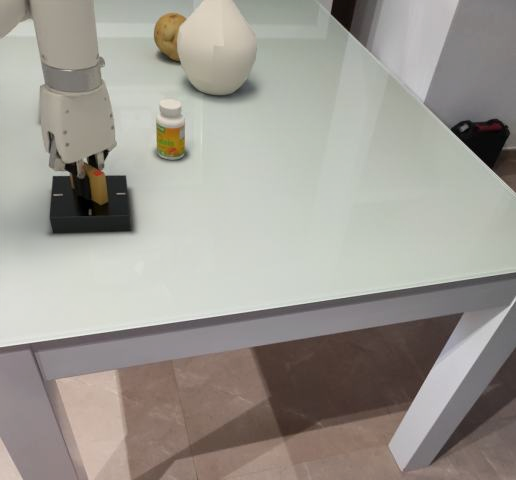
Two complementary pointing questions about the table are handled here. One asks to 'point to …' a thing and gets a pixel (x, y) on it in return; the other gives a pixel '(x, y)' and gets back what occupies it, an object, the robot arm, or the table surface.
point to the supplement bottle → (170, 130)
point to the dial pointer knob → (95, 184)
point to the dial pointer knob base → (89, 208)
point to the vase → (216, 47)
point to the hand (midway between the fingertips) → (89, 192)
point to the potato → (168, 34)
